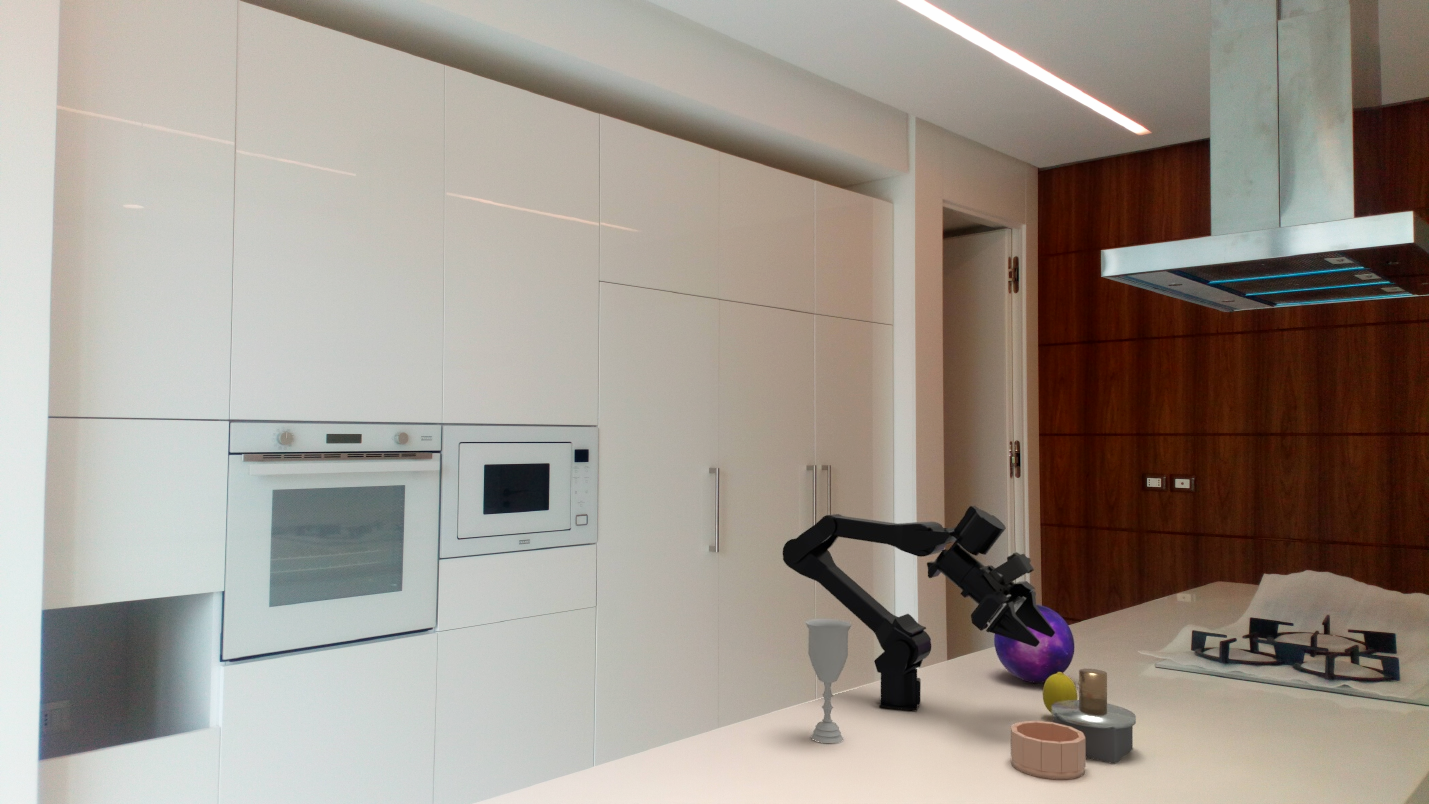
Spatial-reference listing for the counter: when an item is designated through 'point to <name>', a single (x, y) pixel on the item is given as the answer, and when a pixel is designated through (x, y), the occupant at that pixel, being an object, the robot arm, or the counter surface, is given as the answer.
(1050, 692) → the lemon
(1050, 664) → the decorative orb
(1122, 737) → the block
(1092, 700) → the lid
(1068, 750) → the bowl
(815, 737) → the chalice
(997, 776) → the counter surface
